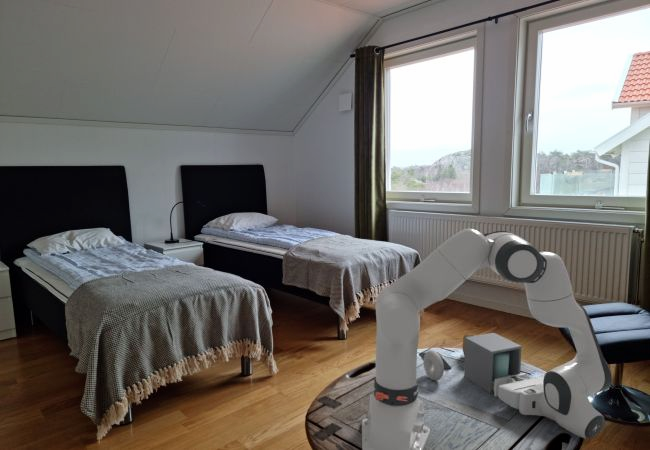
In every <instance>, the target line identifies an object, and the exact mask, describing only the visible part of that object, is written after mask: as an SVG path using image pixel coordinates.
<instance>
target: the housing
mask: <svg viewBox="0 0 650 450" xmlns="http://www.w3.org/2000/svg"><path fill="white" fill-rule="evenodd" d="M476 335H477V336H471V337H465V356H464V370H463V371H464V375H463V376H464V377H465V378H466V379H468V380H469V381H471V382H473V383H474V384H475V385H476V386H478V387H480V388H481V389H483V390H484V391H485V392H487V393H489V394H494V390H492V378H493V354H495V353H500V352H508V353H509V368H508V374H509V375H511V376H512V375H517V374H521V368H522V367H521V366H522V364H521V363H522V345H520V344H518V343H516V342H515V341H514V342H513V341H512V340H510V339H507V338H506V337H503V335H502V336H501V335H500V334H497V333H495V332H490V333H489V332H488V333H484V334H476Z"/></svg>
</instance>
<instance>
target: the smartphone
mask: <svg viewBox="0 0 650 450" xmlns="http://www.w3.org/2000/svg"><path fill="white" fill-rule="evenodd" d="M426 352H427V351H425V352H424V351H423V352H419V356H420V357H421V359H422V361H423V360H424V356H425V354H426ZM436 352H437V353H438V354H439V355H440V357H441V358H442V361H443V365H444V371H447V370H452V366H451V365H450V364H449V363H448V362H447V361H446V360H445V359H444V357H443V356H442V355H441V354H440V353H439V352H438V351H436Z"/></svg>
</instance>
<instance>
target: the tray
mask: <svg viewBox="0 0 650 450" xmlns="http://www.w3.org/2000/svg"><path fill="white" fill-rule="evenodd" d="M512 376H518V377H519V378H525V379H527V373H525V372H522V373H521V372H520V374H517V375H512ZM512 376H511V375H509V374H508V376H507V377H503V378H498V379H495V382H493V381H492V390H494V393H493V396H494V397H498V387H499V385H503V384H508V383H509V382H508V377H512Z"/></svg>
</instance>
